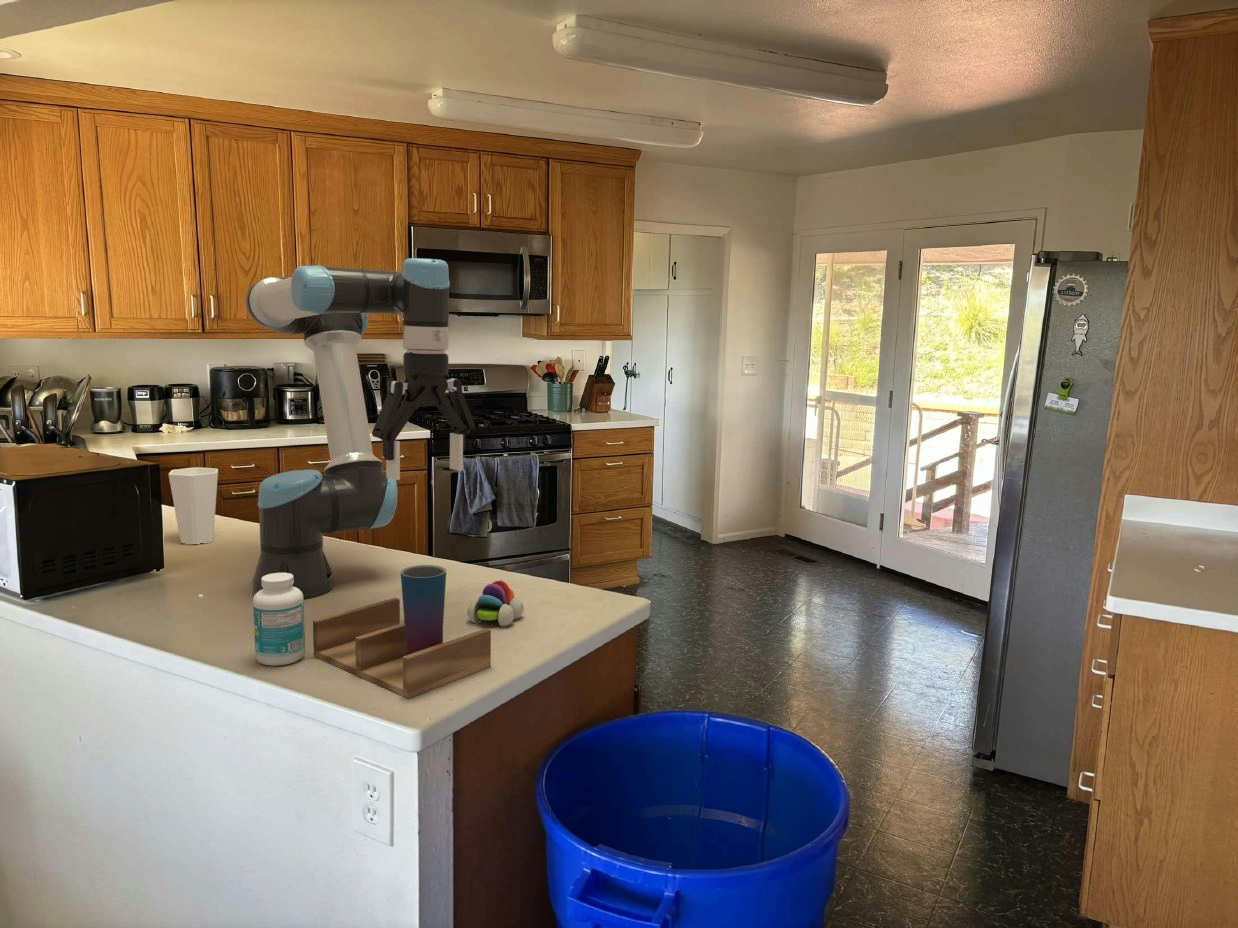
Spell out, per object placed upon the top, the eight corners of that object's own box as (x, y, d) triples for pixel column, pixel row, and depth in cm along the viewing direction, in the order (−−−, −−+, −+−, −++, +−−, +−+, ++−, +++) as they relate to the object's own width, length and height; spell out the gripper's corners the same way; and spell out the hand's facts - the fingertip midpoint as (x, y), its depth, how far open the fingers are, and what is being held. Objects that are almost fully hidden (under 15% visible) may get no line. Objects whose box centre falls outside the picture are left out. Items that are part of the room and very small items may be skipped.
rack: (313, 656, 139) (312, 620, 138) (395, 630, 151) (395, 597, 150) (408, 698, 124) (408, 658, 123) (490, 666, 137) (490, 630, 136)
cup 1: (161, 544, 203) (157, 473, 201) (189, 534, 213) (186, 466, 210) (205, 548, 202) (201, 476, 199) (231, 537, 211) (228, 469, 209)
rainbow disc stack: (528, 615, 161) (528, 578, 160) (504, 632, 152) (505, 592, 151) (487, 609, 164) (487, 572, 163) (462, 625, 155) (462, 586, 154)
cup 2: (453, 658, 137) (453, 566, 134) (436, 675, 130) (435, 579, 128) (413, 654, 138) (412, 563, 136) (394, 670, 132) (392, 575, 129)
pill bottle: (264, 649, 141) (261, 569, 139) (310, 649, 142) (308, 569, 140) (248, 667, 134) (245, 583, 132) (297, 667, 134) (295, 583, 132)
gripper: (376, 354, 136) (377, 486, 139) (495, 352, 155) (493, 469, 158) (349, 351, 140) (351, 479, 144) (467, 349, 159) (466, 463, 163)
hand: (425, 474), depth 151 cm, fingers open, 13 cm apart
